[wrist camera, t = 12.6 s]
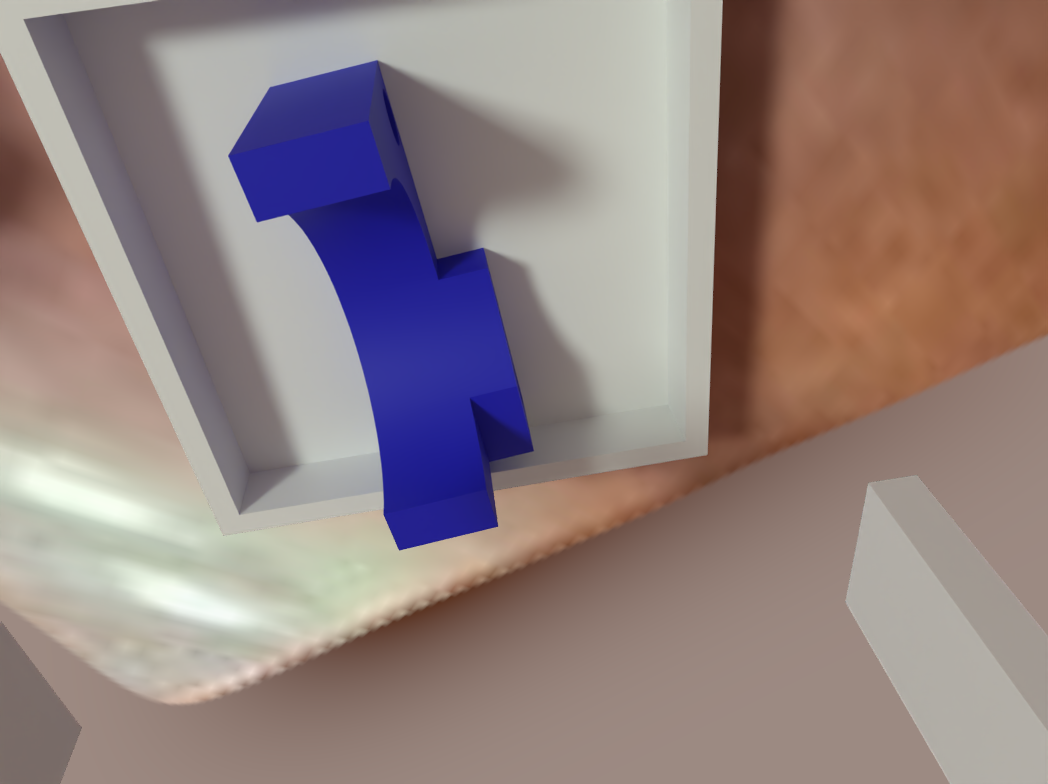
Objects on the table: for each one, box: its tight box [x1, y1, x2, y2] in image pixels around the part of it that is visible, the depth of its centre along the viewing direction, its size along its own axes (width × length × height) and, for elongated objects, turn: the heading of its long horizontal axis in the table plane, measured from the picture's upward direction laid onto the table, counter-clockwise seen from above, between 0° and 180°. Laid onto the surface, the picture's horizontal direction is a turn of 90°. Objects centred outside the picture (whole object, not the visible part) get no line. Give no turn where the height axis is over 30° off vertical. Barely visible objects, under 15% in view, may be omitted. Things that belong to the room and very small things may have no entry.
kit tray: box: [0, 0, 723, 536], centre depth 24 cm, size 17×17×3 cm
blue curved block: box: [228, 60, 534, 550], centre depth 22 cm, size 12×4×6 cm, turn 12°
